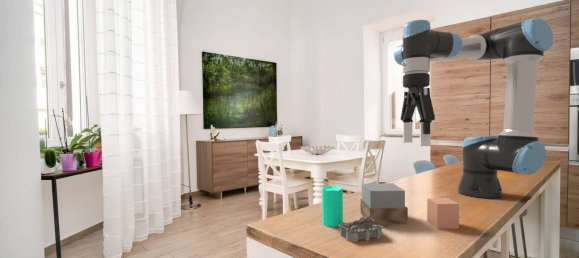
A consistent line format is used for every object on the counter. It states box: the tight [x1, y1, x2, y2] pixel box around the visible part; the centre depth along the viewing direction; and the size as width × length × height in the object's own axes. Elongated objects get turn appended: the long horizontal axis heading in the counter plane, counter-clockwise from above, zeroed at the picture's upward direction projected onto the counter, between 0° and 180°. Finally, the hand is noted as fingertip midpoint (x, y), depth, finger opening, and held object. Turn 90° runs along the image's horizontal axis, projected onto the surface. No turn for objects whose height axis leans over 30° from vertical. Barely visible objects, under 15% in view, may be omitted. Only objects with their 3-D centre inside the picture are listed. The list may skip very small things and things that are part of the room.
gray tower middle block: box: [361, 182, 406, 208], centre depth 94 cm, size 10×10×5 cm
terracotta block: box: [426, 197, 460, 230], centre depth 87 cm, size 6×6×7 cm
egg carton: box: [337, 216, 385, 243], centre depth 80 cm, size 11×8×4 cm
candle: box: [321, 182, 344, 228], centre depth 90 cm, size 6×6×12 cm
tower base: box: [359, 198, 409, 225], centre depth 94 cm, size 11×11×5 cm
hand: (415, 144), depth 93 cm, fingers open, 13 cm apart
